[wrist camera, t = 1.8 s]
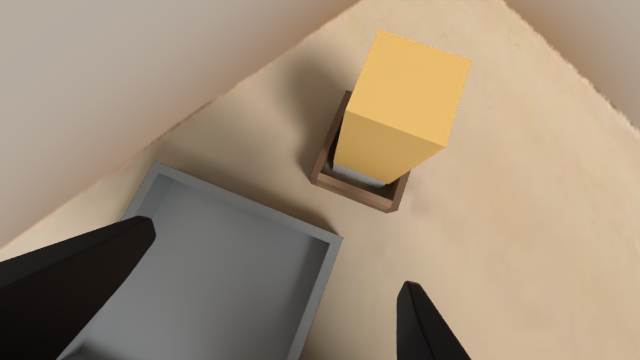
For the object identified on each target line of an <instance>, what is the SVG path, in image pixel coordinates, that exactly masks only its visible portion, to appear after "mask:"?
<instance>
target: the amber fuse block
mask: <svg viewBox="0 0 640 360" xmlns="http://www.w3.org/2000/svg"><path fill="white" fill-rule="evenodd" d="M471 62H472V60H469V59H466V58H463V57H460V56H457V55H454V54H451V53H448V52H445V51H442V50H439V49H436V48H433V47H431V46H428V45H425V44H422V43H419V42H416V41H413V40H410V39H407V38H404V37H401V36H398V35H395V34H392V33H390V32H387V31H384V30H381V29H379V30H378V32H377V35H376V37H375V40H374V42H373V44H372V47H371V49H370V52H369V54H368V56H367V59H366V61H365V64H364V66H363V69H362V71H361V73H360V76H359V78H358V81H357V83H356V86H355V88H354V90H353V93H352V95H351V98H350V100H349V103H348V105H347V107H346V110H345V114H344V118H343V122H342V127H341V131H340V135H339V140H338V144H337V148H336V152H335V157H334V161H333V163H334V166H333V170H332V171H334V172H337V173H340V174H342V175H345V176H347V177H350V178H352V179H355V180H358V181H360V182H363V183H365V184H368V185H370V186H373V187H375V188H378V189H379V188H381V187H382V186H384V185H385V184H390V183H391V182H393V181H394V180H396V179H397V178H399V177H400V176H402V175H403V174H405V173H407V172H408V171H410V170H411V169H413V168H414V167H416V166H417V165H419V164H420V163H422V162H423V161H425V160H426V159H428V158H430V157H431V156H433V155H434V154H436V153H437V152H439V151H440V150H442V149H443V148H445V147H446V144H447V141H448V138H449V134H450V131H451V128H452V124H453V121H454V118H455V114H456V111H457V108H458V104H459V101H460V98H461V95H462V91H463V88H464V85H465V81H466V78H467V75H468V71H469V68H470V65H471Z"/></svg>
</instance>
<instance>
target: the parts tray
mask: <svg viewBox="0 0 640 360" xmlns="http://www.w3.org/2000/svg"><path fill="white" fill-rule="evenodd" d="M138 215H141V216H146V217H149V218H151V219H152V221H153V224H154V228H155V231H156V239H155V241H154V242H153V244H152V245H151V247H150V248H149V249H148V251H147V252H146V253H145V255H144V256H143V257H142V259H141V260H140V262H139V263H138V264H137V266H136V267H135V268H134V270H133V271H132V272H131V274H130V275H129V276H128V278H127V279H126V280H125V281H124V283H123V284H122V285H121V286H120V287H119V289H118V290H117V291H116V292H115V293H114V294H113V295H112V296H111V298H110V299H109V300H108V301H107V302H106V303H105V304H104V306H103V307H102V308H101V309H100V310H99V311H98V312H97V314H96V315H95V316H94V317H93V318H92V319H91V320H90V322H89V323H88V324H87V325H86V326H85V327H84V328H83V330H82V331H81V332H80V333H79V334H78V335H77V336H76V338H75V339H74V340H73V341H72V342H71V343H70V344H69V346H68V347H67V348H66V349H65V350H64V351H63V352H62V354H61V355H60V356H59V357H58V358H57V359H56V360H299V357H300V354H301V352H302V349H303V346H304V343H305V341H306V338H307V335H308V332H309V330H310V327H311V324H312V322H313V319H314V316H315V313H316V311H317V308H318V305H319V303H320V300H321V297H322V294H323V292H324V289H325V286H326V284H327V281H328V278H329V275H330V273H331V270H332V267H333V265H334V262H335V259H336V256H337V254H338V251H339V248H340V246H341V243H342V240H343V237H340V236H338V235H336V234H333V233H331V232H328V231H326V230H323V229H321V228H318V227H316V226H314V225H311V224H309V223H306V222H304V221H301V220H299V219H296V218H294V217H291V216H289V215H287V214H284V213H282V212H279V211H277V210H274V209H272V208H269V207H267V206H265V205H262V204H260V203H257V202H255V201H252V200H250V199H247V198H245V197H242V196H240V195H238V194H235V193H233V192H230V191H228V190H225V189H223V188H220V187H218V186H216V185H213V184H211V183H208V182H206V181H203V180H201V179H198V178H196V177H193V176H191V175H189V174H186V173H184V172H181V171H179V170H176V169H174V168H171V167H169V166H167V165H164V164H162V163H159V162H157V161H155V162H154V163H153V165H152V167H151V169H150V170H149V172H148V174H147V176H146V177H145V179H144V181H143V183H142V184H141V186H140V188H139V190H138V191H137V193H136V195H135V197H134V198H133V200H132V202H131V204H130V205H129V207H128V209H127V211H126V212H125V214H124V216H123V218H122V219H121V221H123V220H126V219H129V218H132V217H134V216H138Z"/></svg>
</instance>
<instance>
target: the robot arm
mask: <svg viewBox="0 0 640 360" xmlns="http://www.w3.org/2000/svg"><path fill="white" fill-rule="evenodd" d="M155 239H156V231H155V228H154V224H153V221H152V219H151V218H149V217H146V216H141V215H138V216H134V217H132V218H129V219H126V220H123V221H120V222H117V223H114V224H111V225H108V226H105V227H102V228H99V229H96V230H93V231H90V232H87V233H84V234H82V235H79V236H76V237H73V238H70V239H67V240H64V241H61V242H58V243H55V244H52V245H49V246H46V247H43V248H40V249H37V250H34V251H32V252H29V253H26V254H23V255H20V256H17V257H14V258H11V259H8V260H5V261H2V262H0V360H56V359H57V358H58V357H59V356H60V355H61V354H62V352H63V351H64V350H65V349H66V348H67V347H68V346H69V344H70V343H71V342H72V341H73V340H74V339H75V338H76V336H77V335H78V334H79V333H80V332H81V331H82V330H83V328H84V327H85V326H86V325H87V324H88V323H89V322H90V320H91V319H92V318H93V317H94V316H95V315H96V314H97V312H98V311H99V310H100V309H101V308H102V307H103V306H104V304H105V303H106V302H107V301H108V300H109V299H110V298H111V296H112V295H113V294H114V293H115V292H116V291H117V290H118V289H119V287H120V286H121V285H122V284H123V283H124V281H125V280H126V279H127V278H128V276H129V275H130V274H131V272H132V271H133V270H134V268H135V267H136V266H137V264H138V263H139V262H140V260H141V259H142V257H143V256H144V255H145V253H146V252H147V251H148V249H149V248H150V247H151V245H152V244H153V242H154V241H155ZM397 360H471V358H470V357H469V355H468V354H467V353H466V351H465V350H464V348H463V347H462V345H461V344H460V342H459V341H458V339H457V338H456V336H455V335H454V333H453V332H452V331H451V329H450V328H449V326H448V325H447V323H446V322H445V320H444V319H443V317H442V316H441V314H440V313H439V312H438V310H437V309H436V307H435V306H434V304H433V303H432V301H431V300H430V298H429V297H428V295H427V294H426V292H425V291H424V290H423V288H422V287H421V285H420V284H418V283H416V282H412V281H405V283H404V284H403V286H402V288H401V290H400V292H399V294H398V297H397Z"/></svg>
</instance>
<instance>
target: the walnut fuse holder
mask: <svg viewBox="0 0 640 360" xmlns="http://www.w3.org/2000/svg"><path fill="white" fill-rule="evenodd" d="M352 93H353V92H350V91H347V90H346V92H345V95H344V97H343V99H342V102H341V104H340V107H339V109H338V111H337V114H336V116H335V119H334V121H333V123H332V126H331V128H330V130H329V133H328V135H327V138H326V140H325V142H324V145H323V147H322V149H321V152H320V154H319V157H318V159H317V161H316V164H315V166H314V169H313V171H312V173H311V176H310V179H311V184H314V185H316V186H319V187H322V188H324V189H327V190H329V191H332V192H334V193H337V194H339V195H342V196H344V197H347V198H349V199H352V200H354V201H357V202H359V203H362V204H364V205H367V206H370V207H372V208H375V209H377V210H380V211H382V212H385V213H390V212H394V211H397V210H398V207H399V204H400V201H401V198H402V195H403V192H404V189H405V186H406V183H407V180H408V177H409V174H410V171H411V170H410V171H408V172H407V173H405V174H403V175H402V176H400V177H399V178H397V179H396V180H394V181H393V182H391V183H390V186H389V189H388V191H387V194H386V197H385V198H383V197H381V196H378V195H376V194H373V193H371V192H368V191H365V190H363V189H360V188H358V187H355V186H353V185H350V184H348V183H345V182H342V181H340V180H337V179H335V178H332V177H330V176H327V175H325V174H322V172H323V169H324V167H325V165H326V162H327V160H328V157H329V155H330V152H331V150H332V148H333V145H334V143H335V140H336V138H337V135H338V133H339V130H340V128H341V126H342V122H343V118H344V114H345V110H346V107H347V105H348V103H349V100H350V98H351V95H352Z"/></svg>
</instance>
